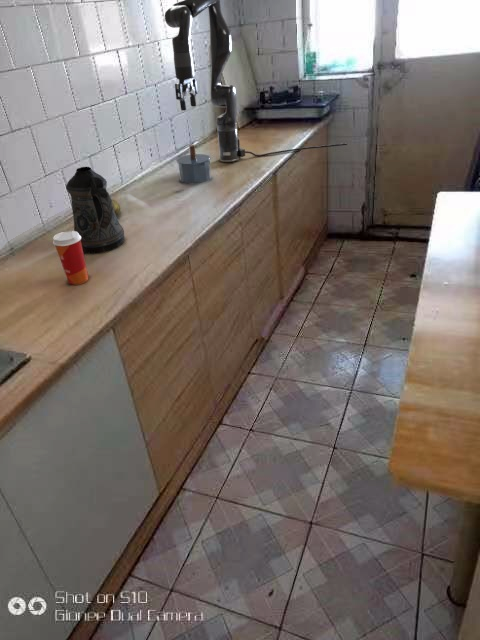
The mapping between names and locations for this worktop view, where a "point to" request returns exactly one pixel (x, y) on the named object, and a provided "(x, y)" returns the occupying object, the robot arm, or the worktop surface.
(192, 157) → the lid
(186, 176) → the pot
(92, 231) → the beer stein
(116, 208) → the potato
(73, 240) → the paper cup
